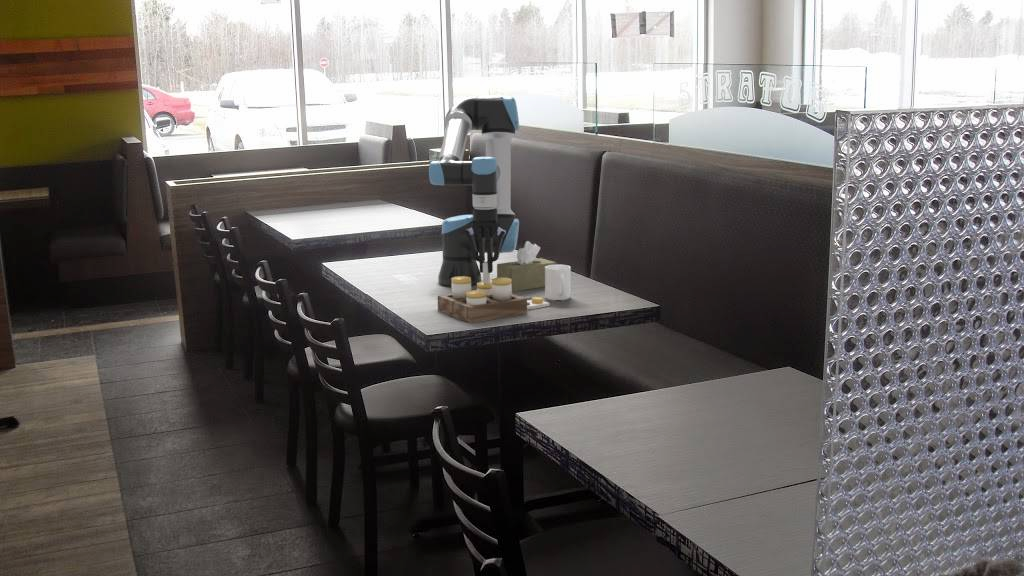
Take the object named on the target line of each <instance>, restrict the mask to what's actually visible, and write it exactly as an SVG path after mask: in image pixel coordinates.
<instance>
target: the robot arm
mask: <svg viewBox="0 0 1024 576" xmlns="http://www.w3.org/2000/svg"><path fill="white" fill-rule="evenodd" d="M443 125H444V129H445V130H444V135H443V139H442V143H441V148H440V152H439V157H438V160H433V161H431V162H430V163H429V167H428V177H429V178H428V179H429V182H430V184H431V185H434V186H472V207H473V209H472V214H462V215H456V216H451V217H448V218H447V217H446V219H444V220H443V222H442V223H441V239H442V240H441V246H442V249H441V250H442V263H441V266H440V270H439V273H438V276H437V278H438V279H437V280H438V282H437V283H438V284H440V285H441V286H449V287H452V280H451V278H453V277H459V276H466V277H470V278H471V286H475V285H477V283H479V282H483V284H488V283H489V282H491V280H490V279H491V276H490V274H492V273H493V271H494V265H493V263H494V262H497V260H499V258H500V254H506V253H513V252H514V251H515V250H516V247H517V243H518V240H519V239H518V238H519V232H520V231H519V227H520V220H519V219H518V218H516V213H515V212H513V210H512V209H511V207H512V206H511V203H512V201H511V199H512V197H511V190H512V188H511V186H512V184H511V182H512V181H511V180H512V176H511V175H512V174H511V170H512V169H511V167H512V166H511V165H512V164H511V161H512V160H511V159H512V158H511V156H512V155H511V152H512V151H511V147H512V146H511V145H512V144H511V143H512V139H514V138H515V136H516V131H518V130H520V122H519V112H518V105H517V101H516V99H515V98H514V97H513V96H511V95H482V96H481V95H480V96H479V95H477V96H476V95H470V96H466V97H464V98H461V100H459V101H457V102H455V104H454V105H452V107H450V109H449V110H448V111H447V112H446V115H445V117H444V123H443ZM471 131H481V136H482V138H483V139H485V156H476V157H473V158H472V160H464V154H465V151H466V150H465V149H466V143H467V140H468V139H467V138H468V134H469V133H470V132H471ZM486 259H487V260H486Z"/></svg>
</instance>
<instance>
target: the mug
mask: <svg viewBox="0 0 1024 576" xmlns="http://www.w3.org/2000/svg"><path fill="white" fill-rule="evenodd" d="M571 270H572V269H571V266H570V265H567V264H556V265H548V266H545V287H544V295H545V296H544V297H545V298H546V299H547V300H549V301H555V300H561V301H566V299H567V300H569V299H570V298H571V296H572V295H571V294H572V291H571V288H572V287H571V286H572V284H571V275H572V274H571V273H572V272H571Z"/></svg>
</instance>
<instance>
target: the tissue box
mask: <svg viewBox="0 0 1024 576" xmlns="http://www.w3.org/2000/svg"><path fill="white" fill-rule="evenodd" d="M540 250H541V246H540V245H537V244H536V243H531V241H529V240H527V241H525V243H524V246H523V248H521V247H519V249H518V250H517V256H516V258H517V261H509V262H502V263H497V264H496V278H510V279H512V292H517V291H523V290H524V291H525V290H531V289H537V288H538V289H539V288H545V266H548V265H557V262H556V261H553V260H548V259H546V258H541V257H540V258H537V255H538V254H539V252H540Z"/></svg>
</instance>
